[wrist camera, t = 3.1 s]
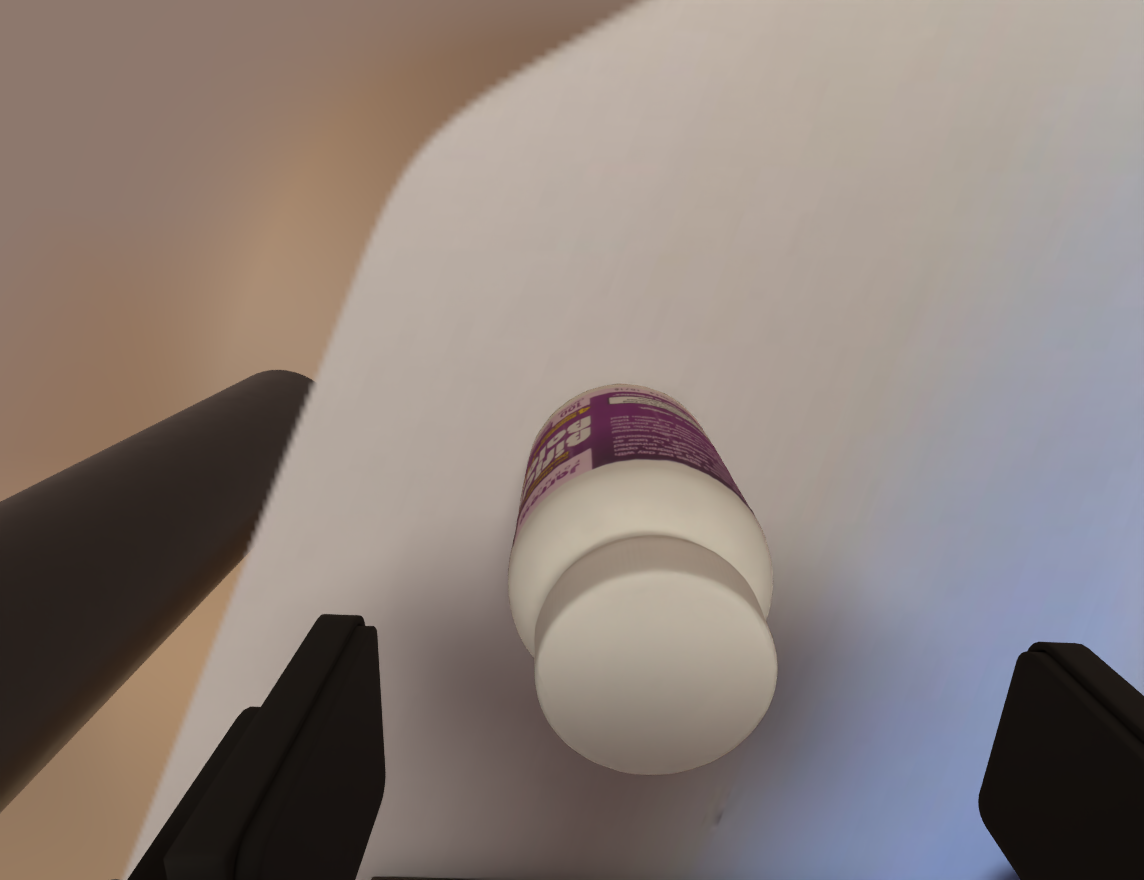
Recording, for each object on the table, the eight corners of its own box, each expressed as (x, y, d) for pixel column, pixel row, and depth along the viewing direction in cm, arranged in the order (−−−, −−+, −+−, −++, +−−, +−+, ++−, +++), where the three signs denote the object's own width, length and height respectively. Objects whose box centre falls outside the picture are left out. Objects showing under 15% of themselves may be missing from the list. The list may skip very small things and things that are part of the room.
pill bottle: (546, 362, 19) (526, 494, 10) (731, 400, 20) (871, 562, 10) (511, 534, 21) (465, 783, 12) (682, 567, 21) (767, 834, 12)
